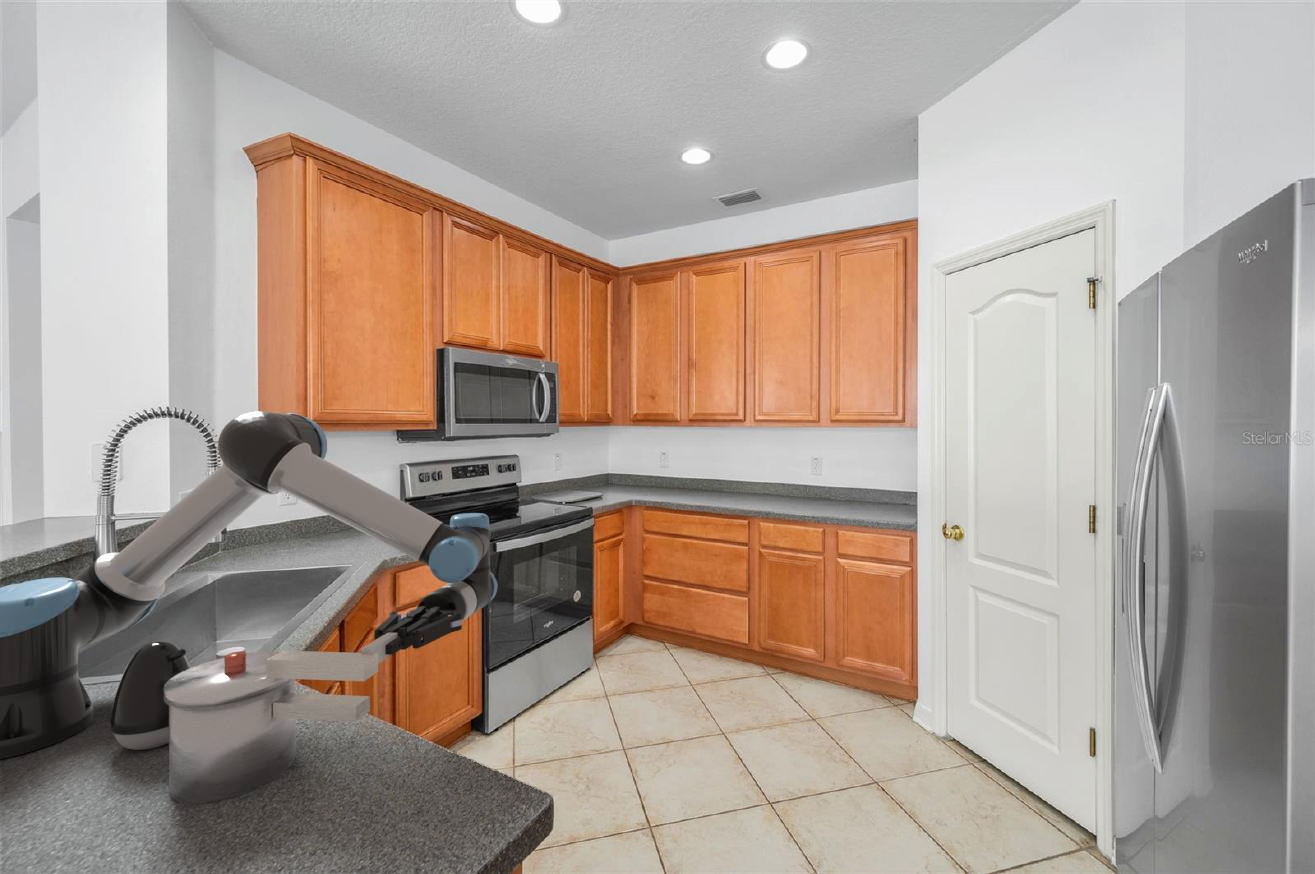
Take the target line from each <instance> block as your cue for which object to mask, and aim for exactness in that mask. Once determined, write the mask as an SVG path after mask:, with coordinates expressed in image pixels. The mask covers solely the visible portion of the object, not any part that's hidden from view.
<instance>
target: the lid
mask: <svg viewBox="0 0 1315 874" xmlns="http://www.w3.org/2000/svg"><path fill="white" fill-rule="evenodd" d="M378 672H379V663H378V653H361V652H345V651H344V652H340V651H339V652H338V651H310V650H309V651H307V650H282V651H277V650H275V651H274V650H273V651H271V650H270V651H255V652H249V653H247V652H246V650H245V651H238V652H233V653H229V654H227V655H225V657H224V658H221V659H217V660H216V659H214V660H211V661H207V662H204V663H200V664H198V665H196V666H195V665H194V666H193V667H190V669H188V670H185V671H183V672H181V673H179V674H177V675H176V676H174V677H172V678H171V679H170V680H168V681H167V682H166V684H165V685H164V702H165V703H166V704H167V705H169V706H172V707H177V708H205V707H214V706H220V705H226V704H231V703H235V702H239V701H243V700H247V699H250V698H254V697H257V696H260V695H263V694H266V693H268V692H271V691H273V690H275V689H277V688H280V687H281V686H283V685H285V684H287V683H288V682H290V681H291V680H293V679H295V680H316V681H317V680H318V681H342V682H343V681H345V682H346V681H347V682H365V681H367V680H368V679H369V678H372V676H374V675H375V674H377V673H378Z"/></svg>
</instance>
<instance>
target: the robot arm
mask: <svg viewBox="0 0 1315 874" xmlns="http://www.w3.org/2000/svg"><path fill="white" fill-rule="evenodd" d="M217 450H218V455H219V458H220V459H221V461H222V464H221V465H220V466H219V467H218V468H217V469H216V470H214V471H213V472H212V473H211V474H210V475H209V476H208V477H207V478H205V479H204V480H203V481H202V482H201V483H199V484H198V485H197V486H196V487H194V489H192V490H191V491H190V492H188V494H186V495H185V496H184V497H183V498H181V500H179V501H178V502H177V503H176V504H175V505H174V506H173V507H171V508H170V509H169V510H168V511H166V512H165V513H164V514H163V515H162V516H161V517H159V518H158V519H157V520H156V521H155V522H154V523H152V524H151V525H150V526H149V527H148V528H146V529H145V530H144V531H143V532H142V533H141V534H140V535H139V536H137V537H136V538H135V539H134V540H132V541H131V542H130V543H129V544H127V546H126V547H124V548H123V549H122V550H121V551H120V552H107V553H104V554H102V555H100V556H99V557H98V558H97V559H96V560H94V561H93V562H92V563H90V565H88V566H87V567H86V568H85V569H84V570H83V571H82V572H80V573H79V574H78V575H77V576H75V577H74V578H69V577H46V578H39V579H31V580H26V581H23V582H21V583H20V582H19V583H13V584H8V585H5V586H2V587H0V760H3V759H8V758H13V757H16V756H20V755H23V754H27V753H30V752H33V751H36V750H40V749H43V748H46V747H49V746H51V745H54V744H56V743H59V742H62V741H63V740H66V739H69V738H70V737H73V736H74V735H76V734H78V733H80V732H81V731H83V730H85V729H86V728H87V727H88V726H90V725H91V724H92V722H93V721H94V704H93V702H92V701H91V699H90V696H89V694H88V692H87V691H86V689H85V686H84V683H82V680H81V678H80V676H79V649H82V648H85V647H86V646H88V645H91V644H93V643H96V642H98V641H101V640H102V639H105V638H108V637H110V636H111V635H115V634H118V633H121V632H123V631H126V630H127V629H131V628H132V627H134V626H135V625H137V624H138V623H140V622H141V621H143V620H144V619H146V617H147V616H149V614H150V613H152V611H153V610H154V608H155V606H156V605H157V603H158V600H159V599H158V598H160V597H161V596H162V595H163V594H164V592H165V591H166V580H167V579H169V578H170V577H171V576H172V575H173V574H174V573H175V572H176V571H177V570H179V569H180V568H181V567H183V566H184V564H186V563H187V562H188V561H189V560H191V559H192V557H194V556H195V555H196V554H197V553H199V551H201V550H202V549H203V548H204V547H205V546H207V544H209V543H210V542H211V541H212V540H213V539H214V538H216V537H217V536H218V535H219V534H220V533H221V532H222V531H224V530H225V529H226V528H227V527H228V526H230V525H231V524H232V523H233V522H234V521H235V520H236V519H237V518H238V517H240V516H241V515H242V514H243V513H244V512H245V511H247V510H248V509H249V508H250V507H251V506H252V505H254V504H255V503H256V502H257V501H258V500H259V499H260V498H262V496H265V495H278V494H279V493H280V492H284V493H286V494H288V495H289V496H291V497H293V498H295V499H297V500H298V501H299V500H300V501H301V502H303V503H305V504H307V505H308V506H310V507H313V508H315V509H317V510H318V511H320V512H322V513H325V514H326V515H327V516H330V517H332V518H334V519H337V520H338V521H340V522H342V523H343V524H346V525H348V526H350V527H352V528H354V529H356V530H358V531H360V532H362V533H363V534H365V535H368V536H369V537H371V538H373V539H375V540H377V541H379V542H381V543H383V544H385V545H387V546H389V547H390V548H393V549H394V550H397V551H399V552H400V553H402V554H405V555H406V556H408V557H410V558H412V559H414V560H416V561H418V562H419V563H422V564H424V565H426V566H428V567H429V569H430V571H431V573H432V575H433V576H434V577H435V578H436V579H438V580H439V581H440V582H443V583H446V584H445V585H443V586H441V587H438V589H435V590H433V591H432V592H430V593H428V594H426V595H425V596H424V597H423V598H422V599H421V600H420V602H419V604H418V605H417V607H416V608H415V609H411V610H409V611H407V612H406V614H403V615H402V613H398V612H397V611H392V612H389V617H388V618H386V619H385V620H384V621H383V622H382V623H381V624H380V625H379V626H378V627H376V628H375V629H374V630H373V632H374V633H373V634H374V639H373V640H372V641H370V642H369V643H367V644H366V645H365V646H362V647H361V648H360V653H378V664H380V663H382V662H384V660H386V659H388V658H389V657H390V656H392V655H395V654H396V653H398V652H399V651H400V650H402V651H404V650H407V649H408V648H410V647H411V646H412V648H413V649H420V648H422V647H424V646H426V645H428V644H430V643H432V642H435V641H436V640H439V639H441V638H442V637H444V636H447V635H449V634H452V633H453V632H458V631H461V630H463V622H464V621H465V620H467V619H468V618H470V617H472V616H473V615H474V614H475V613H477V612H479V611H480V610H482V609H483V608H485V607H486V606H487V605H489V603H490V602H491V601H492V600H493V599H494V598H495V596H496V594H497V591H498V587H499V586H498V580H497V579H496V576H495V575H494V573H493V572H491V567H490V566H491V565H490V546H491V545H490V542H491V541H490V534H491V528H490V519H489V516H488V515H487V513H486V514H485V513H482V512H481V513H480V512H478V513H477V512H470V513H458V514H454V515H452V516H451V518H450V520H449V525H448V524H446V523H443V522H442V521H441V520H440V519H439V520H438V519H437V518H435V517H433V516H432V515H429V514H427V513H426V512H424V511H422V510H420V509H418V508H416V507H414V506H413V505H410V504H409V503H407V502H405V501H403V500H401V499H399V498H397V497H395V496H393V495H391V494H390V493H388V492H386V491H384V490H382V489H380V488H379V487H377V486H375V485H373V484H371V483H370V482H367V481H366V480H364V479H362V478H360V477H358V476H357V475H354V474H352V473H350V472H349V471H346V470H345V469H343V468H341V467H339V466H337V465H336V464H333V463H331V462H329V461H327V460H326V459H325V458H326V455H327V453H328V452H327V451H328V440H327V435H326V434H325V431H324V430H323V429H322V427H321V426H320V425H319V424H318V423H317V422H316V421H314V420H312V419H311V418H309V417H306V416H303V415H301V414H298V413H291V412H290V413H280V412H270V411H251V412H246V413H243V414H240V415H238V416H236V417H235V418H233V419H231V420H230V421H229V422H228V423H227V424H226V425H225V426H224V427H223V429H222V430H221V432H220V434H219V437H218V441H217Z"/></svg>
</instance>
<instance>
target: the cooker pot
mask: <svg viewBox="0 0 1315 874" xmlns="http://www.w3.org/2000/svg"><path fill="white" fill-rule="evenodd" d="M369 712H371V697H370V695H369V696H368V695H347V694H330V693H329V694H327V693H323V694H322V693H304V692H303V693H301V692H296V679H293V680H291V681H290V682H288V683H287V684H285V685H283V686H281V687H280V688H277V689H275V690H273V691H271V692H268V693H266V694H263V695H260V696H257V697H254V698H250V699H247V700H243V701H239V702H235V703H231V704H226V705H220V706H214V707H205V708H177V707H172V706H169V743H168V753H169V754H168V758H169V759H168V760H169V761H168V765H169V766H168V772H169V773H168V783H169V785H168V786H169V787H168V788H169V789H168V791H169V796H170V798H171V799H173V800H174V801H177V802H178V803H182V804H192V805H193V804H195V805H196V804H206V803H207V804H208V803H214V802H218V801H223V800H227V799H231V798H235V797H238V796H241V795H243V794H246V793H249V792H251V791H254V790H257V789H259V788H260V786H261V787H263V786H264V785H267V784H269V783H270V782H272V781H274V780H276V779H277V778H278V777H280V776H281V775H283V774H284V773H285V772H286V771H288V769H289V768H290V767H291V766H292V765H293V764H294V762H295V760H296V755H297V754H296V753H297V752H296V751H297V749H296V747H297V746H296V745H297V742H296V741H297V739H296V737H297V736H296V729H297V728H296V724H297V723H296V721H297V720H299V719H300V720H314V721H316V720H317V721H333V722H335V721H337V722H351V723H352V722H353V723H354V722H355V723H356V722H358V721H359V720H360V719H362V718H363V717H364V716H365V715H367V713H369ZM296 719H297V720H296ZM284 771H285V772H284ZM271 780H272V781H271Z"/></svg>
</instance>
